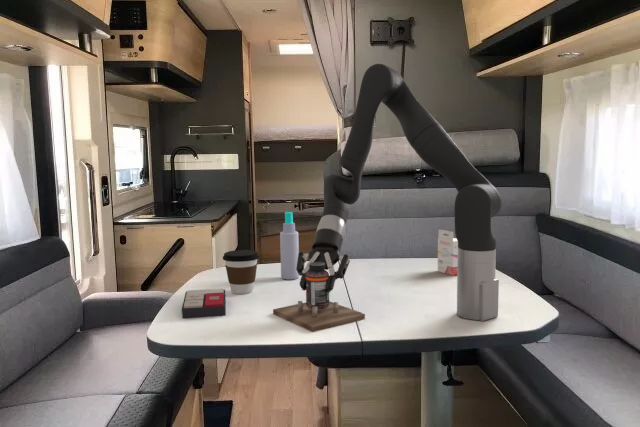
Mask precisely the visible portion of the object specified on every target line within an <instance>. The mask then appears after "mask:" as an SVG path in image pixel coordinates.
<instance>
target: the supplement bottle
mask: <svg viewBox="0 0 640 427" xmlns="http://www.w3.org/2000/svg"><path fill="white" fill-rule="evenodd" d="M328 276H330V273H329V271H328V270H325V263H323V262H312V263H310V264H309V271H308V272H307V273H306V290H305V302H306V305H307V307H308V308H311V309H312V307H317V309H325V308H327V307H328V306H329V301H330V292H327V291H326V284H327V280H328Z"/></svg>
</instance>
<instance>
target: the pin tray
mask: <svg viewBox="0 0 640 427" xmlns="http://www.w3.org/2000/svg"><path fill="white" fill-rule="evenodd" d="M272 315H275V316H276V317H279V318H281V319H284V320H286V321H287V322H288V321H289V322H290V323H292V324H295V325H297V326H298V327H301V328H303V329H305V330H308V331H309V332H313V333H315V332H318V331H321V330H325V329H330V328H333V327H338V326H341V325H345V324H350V323H353V322H357V321H358V322H359V321H361V320H365V319H366V314H365V313H362V312H360V311H357V310H354V309H352V308H349V307H346V306H343V305H340V304H339V302H337V301H334V302H332V301H330V300H329V306H328V307H327V308H325V309H317V307H312V309H311V308H308V307H307V305H306V301H305V302H304V301H302V300H298V301H297V303H296V304H292V305H287V306H282V307H277V308H273V309H272Z"/></svg>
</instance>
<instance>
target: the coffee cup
mask: <svg viewBox="0 0 640 427" xmlns="http://www.w3.org/2000/svg"><path fill="white" fill-rule="evenodd" d="M259 258H260V254H259V253H258V252H257V251H256V250H251V249H236V250H230V251H226V252H225V253H223V256H222V260H223V261H224V262H225V270H226V275H227V280H228V283H229V287H230V291H231V293H232V294H233V295H248V294H251V293H253V290H254V287H255V282H256V276H257V275H256V274H257V268H258V267H257V266H258V260H259Z"/></svg>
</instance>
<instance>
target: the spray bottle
mask: <svg viewBox="0 0 640 427" xmlns="http://www.w3.org/2000/svg"><path fill="white" fill-rule="evenodd" d="M284 218H285V219H284V223H282V225H283V226H282V231H280V233H279V238H280V239H279V240H280V241H279V242H280V243H279V244H280V248H279V249H280V250H279V251H280V277H281V279H282V280H285V279H286V280H285V281H287V280H288V281H290V280H291V281H292V280H293V279H294V280H297V279H299V277H300V275H299V274H298V272H297V270H296V268H297V261H298V254H299V252H300V250H299V249H300V247H299V244H300V243H299V241H300V240H299V232H298V231H297V230H296V223H295V222H294V216H293V211H285V212H284Z"/></svg>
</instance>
